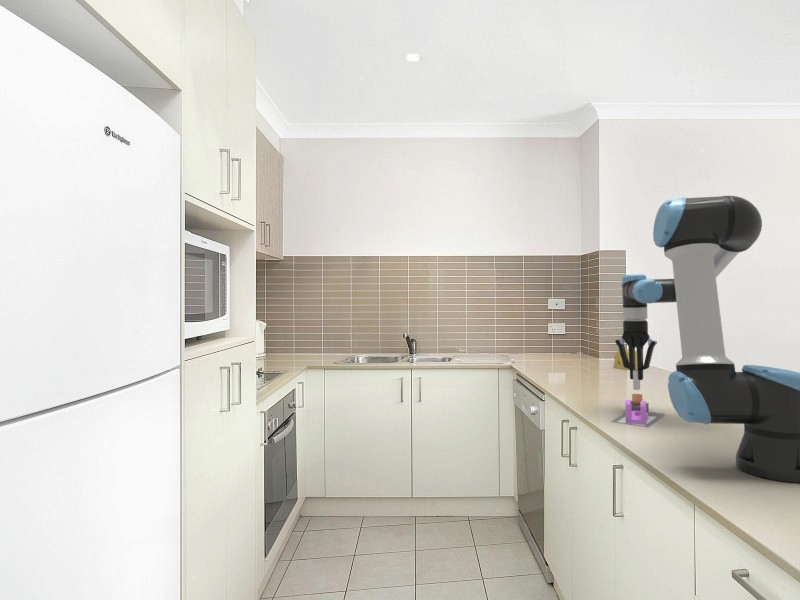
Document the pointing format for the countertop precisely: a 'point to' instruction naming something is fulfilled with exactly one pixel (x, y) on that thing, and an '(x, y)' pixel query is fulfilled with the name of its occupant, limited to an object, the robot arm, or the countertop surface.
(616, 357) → the cheese
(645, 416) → the bracket
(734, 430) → the countertop surface
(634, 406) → the button housing
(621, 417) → the grey flat plate
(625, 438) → the countertop surface
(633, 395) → the button
